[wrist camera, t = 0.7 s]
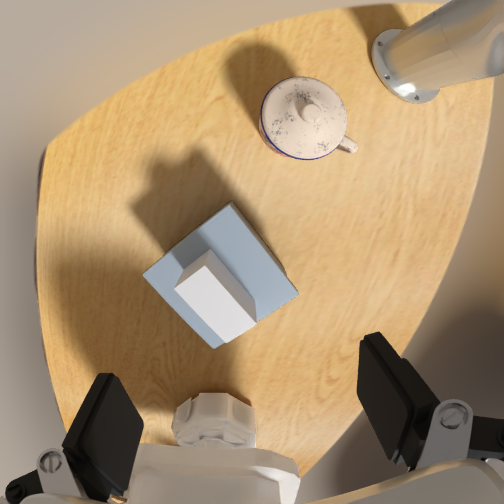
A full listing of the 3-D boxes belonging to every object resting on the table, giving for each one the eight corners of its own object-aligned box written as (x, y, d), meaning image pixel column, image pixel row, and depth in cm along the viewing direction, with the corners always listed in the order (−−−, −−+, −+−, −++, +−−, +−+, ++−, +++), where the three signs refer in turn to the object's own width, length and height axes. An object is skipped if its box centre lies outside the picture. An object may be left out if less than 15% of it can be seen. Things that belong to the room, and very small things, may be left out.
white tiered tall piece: (287, 362, 46) (323, 562, 13) (281, 443, 55) (297, 575, 22) (136, 362, 46) (71, 535, 13) (167, 442, 54) (145, 567, 21)
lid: (229, 203, 31) (226, 214, 25) (297, 290, 34) (307, 316, 28) (145, 271, 33) (127, 294, 27) (214, 343, 36) (210, 375, 30)
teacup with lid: (245, 142, 35) (246, 134, 24) (273, 82, 33) (286, 52, 21) (327, 180, 37) (360, 190, 26) (353, 122, 34) (394, 112, 23)
